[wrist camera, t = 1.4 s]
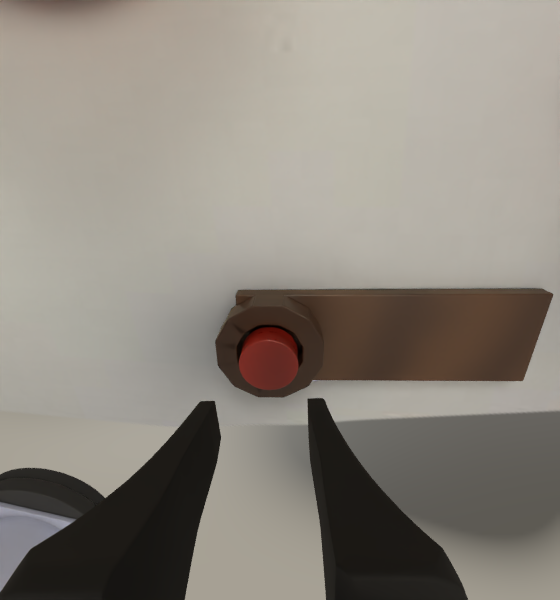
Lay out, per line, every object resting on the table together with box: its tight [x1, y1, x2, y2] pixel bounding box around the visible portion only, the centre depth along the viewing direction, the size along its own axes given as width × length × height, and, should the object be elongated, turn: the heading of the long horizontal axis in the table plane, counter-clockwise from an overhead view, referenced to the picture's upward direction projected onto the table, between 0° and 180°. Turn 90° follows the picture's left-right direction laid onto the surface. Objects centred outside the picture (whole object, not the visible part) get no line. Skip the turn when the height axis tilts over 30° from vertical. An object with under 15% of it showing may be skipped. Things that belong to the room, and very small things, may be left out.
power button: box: [239, 327, 298, 390], centre depth 17 cm, size 3×3×2 cm
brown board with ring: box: [215, 289, 553, 397], centre depth 19 cm, size 19×6×2 cm, turn 91°
